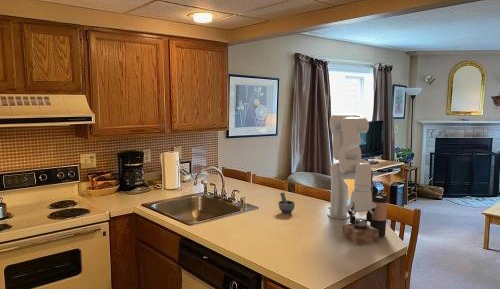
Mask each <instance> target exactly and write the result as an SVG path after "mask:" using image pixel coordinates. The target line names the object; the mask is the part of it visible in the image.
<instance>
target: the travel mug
mask: <svg viewBox="0 0 500 289" xmlns="http://www.w3.org/2000/svg"><path fill="white" fill-rule="evenodd" d="M372 202H373V203H375V204H377V206H376V208H375V211H374V212H373V214H372V222H369V225H370V226H372V227H374V228H376V229H378V230H379V237H382V238H384V236H385V237H386V229H387V227H386V226H387V215H388V214H387V213H388V212H387V211H388V210H387V209H388V196H387V195H384V194H379V193H378V194H372Z"/></svg>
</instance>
